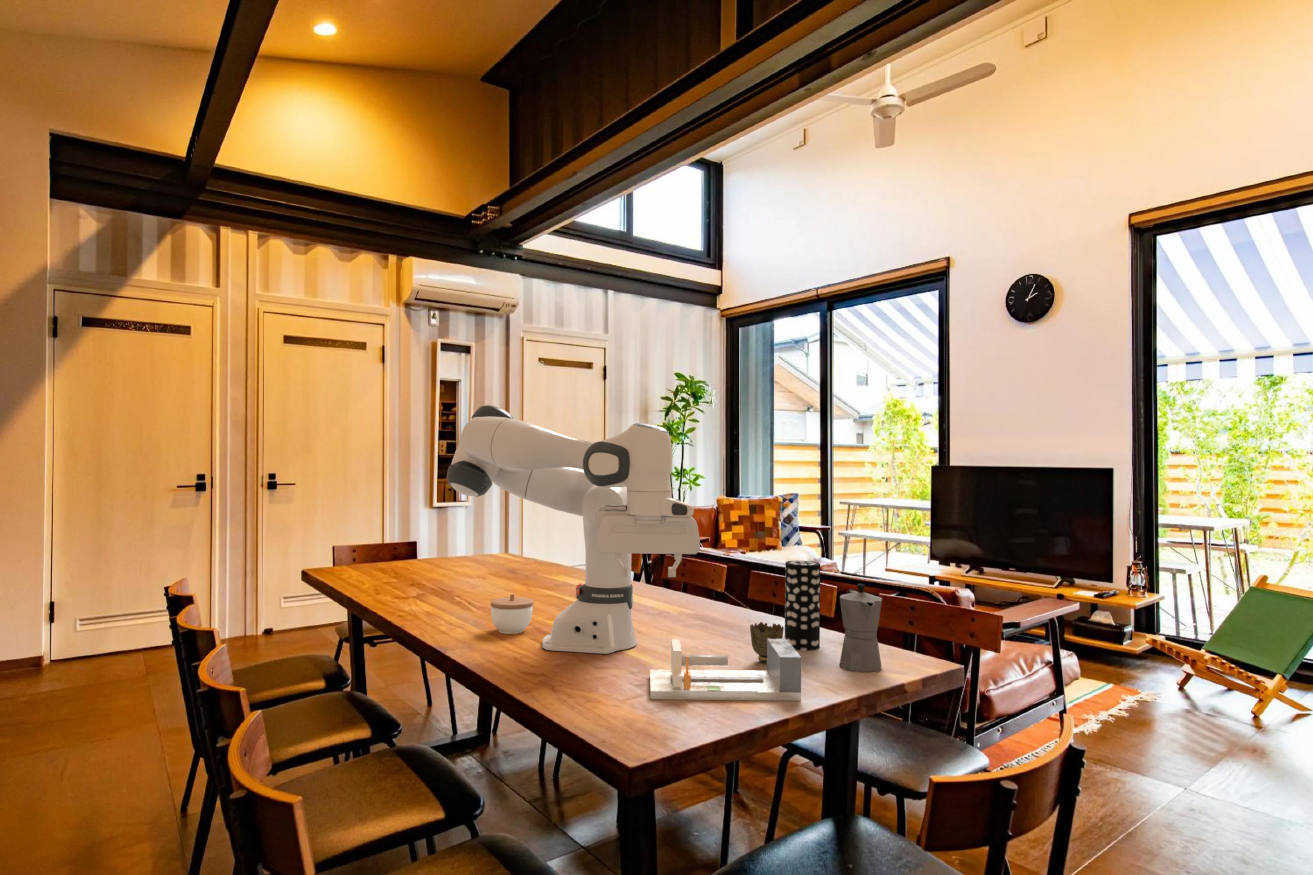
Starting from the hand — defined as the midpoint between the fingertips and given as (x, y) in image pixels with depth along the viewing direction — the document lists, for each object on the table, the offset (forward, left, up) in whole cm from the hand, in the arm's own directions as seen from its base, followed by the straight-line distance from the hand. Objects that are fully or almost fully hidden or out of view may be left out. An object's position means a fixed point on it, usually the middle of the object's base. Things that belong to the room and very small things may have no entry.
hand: (647, 576), depth 143 cm
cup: (+27, +19, -22) cm, 39 cm away
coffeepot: (+47, +17, -22) cm, 54 cm away
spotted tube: (+38, +33, -22) cm, 54 cm away
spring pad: (+10, -2, -19) cm, 22 cm away
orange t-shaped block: (+8, -6, -19) cm, 22 cm away
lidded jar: (-34, +45, -22) cm, 60 cm away
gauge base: (+15, 0, -22) cm, 26 cm away
